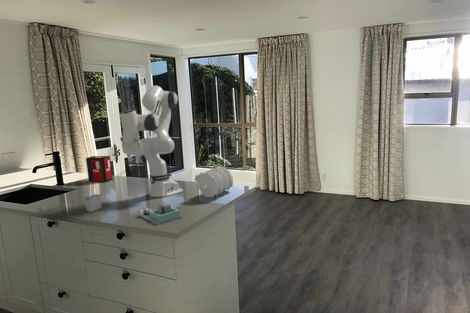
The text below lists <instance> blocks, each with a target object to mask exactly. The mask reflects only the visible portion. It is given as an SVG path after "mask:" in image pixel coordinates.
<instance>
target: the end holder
mask: <svg viewBox="0 0 470 313" xmlns="http://www.w3.org/2000/svg"><path fill="white" fill-rule="evenodd" d="M149 211H150V210H149ZM180 215H181V213H180V209H177V208H175V207H172V206H171V212H170V213H166V214H163V215H159V214H158V210H157V209H154V211H153V210H152V211H150V217H152V218H154V219H156V220H158V221H163V220H167V219H170V218H174V217H177V216H180Z"/></svg>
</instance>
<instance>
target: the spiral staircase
mask: <svg viewBox="0 0 470 313" xmlns="http://www.w3.org/2000/svg"><path fill="white" fill-rule="evenodd" d="M233 178H234V177H233V175H232V173H231V171H230V169H227V168H225V166H221V167H220V166H216V167H214V168H213V167H211V168H210V169H209V170H208V169H207V171H205V172H204V171H202V172H200V173H198V174H195V177H194V181H195V182H196V183H198V189H199V191H200V192H201V195H202V196H205V197H206V199H207V198H212V199H213V198H214V197H215V195H216V196H218V195H219V194H222V192H223V193H225V191H226V190H227V191H229V189H231V188H233V186H234V185H233V184H234V180H233Z"/></svg>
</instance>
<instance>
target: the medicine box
mask: <svg viewBox="0 0 470 313" xmlns="http://www.w3.org/2000/svg"><path fill="white" fill-rule="evenodd" d="M84 200H85V208H86V212H89V213H92V212H95V211H97V210H100V209H103V207H102V199H101V194H96V193H95V194H92V195H88V196H86V197H84Z"/></svg>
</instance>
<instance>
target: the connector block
mask: <svg viewBox="0 0 470 313" xmlns="http://www.w3.org/2000/svg"><path fill="white" fill-rule="evenodd" d="M171 207H172V206H171V204H169V203H164V204H161V205H157V209H156V210H158V214H159V215H163V214H166V213H170V212H171Z"/></svg>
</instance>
